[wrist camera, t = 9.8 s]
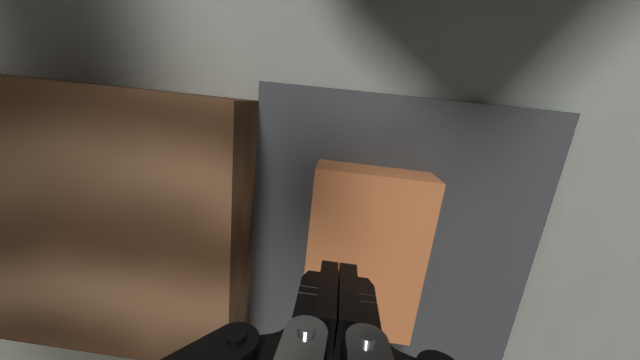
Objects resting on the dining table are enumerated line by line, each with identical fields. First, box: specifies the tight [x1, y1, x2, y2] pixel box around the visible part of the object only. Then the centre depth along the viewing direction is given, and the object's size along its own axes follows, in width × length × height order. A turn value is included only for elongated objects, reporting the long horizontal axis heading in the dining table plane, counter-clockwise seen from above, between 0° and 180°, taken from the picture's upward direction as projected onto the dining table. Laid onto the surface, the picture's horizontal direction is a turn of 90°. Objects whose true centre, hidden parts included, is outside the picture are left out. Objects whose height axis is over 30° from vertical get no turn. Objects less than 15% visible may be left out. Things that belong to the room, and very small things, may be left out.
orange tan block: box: [304, 159, 446, 346], centre depth 16 cm, size 9×6×2 cm, turn 174°
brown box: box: [0, 74, 259, 360], centre depth 16 cm, size 14×16×4 cm
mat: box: [249, 81, 580, 360], centre depth 17 cm, size 16×16×1 cm
